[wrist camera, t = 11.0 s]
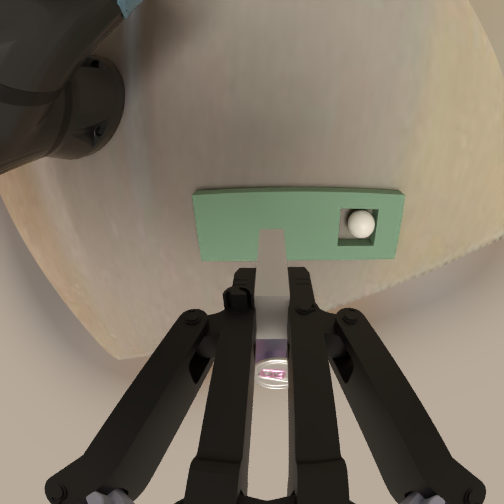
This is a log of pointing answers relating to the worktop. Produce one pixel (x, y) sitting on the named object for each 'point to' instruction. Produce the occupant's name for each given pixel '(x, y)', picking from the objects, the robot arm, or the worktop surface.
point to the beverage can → (271, 363)
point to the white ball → (361, 224)
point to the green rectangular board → (294, 222)
